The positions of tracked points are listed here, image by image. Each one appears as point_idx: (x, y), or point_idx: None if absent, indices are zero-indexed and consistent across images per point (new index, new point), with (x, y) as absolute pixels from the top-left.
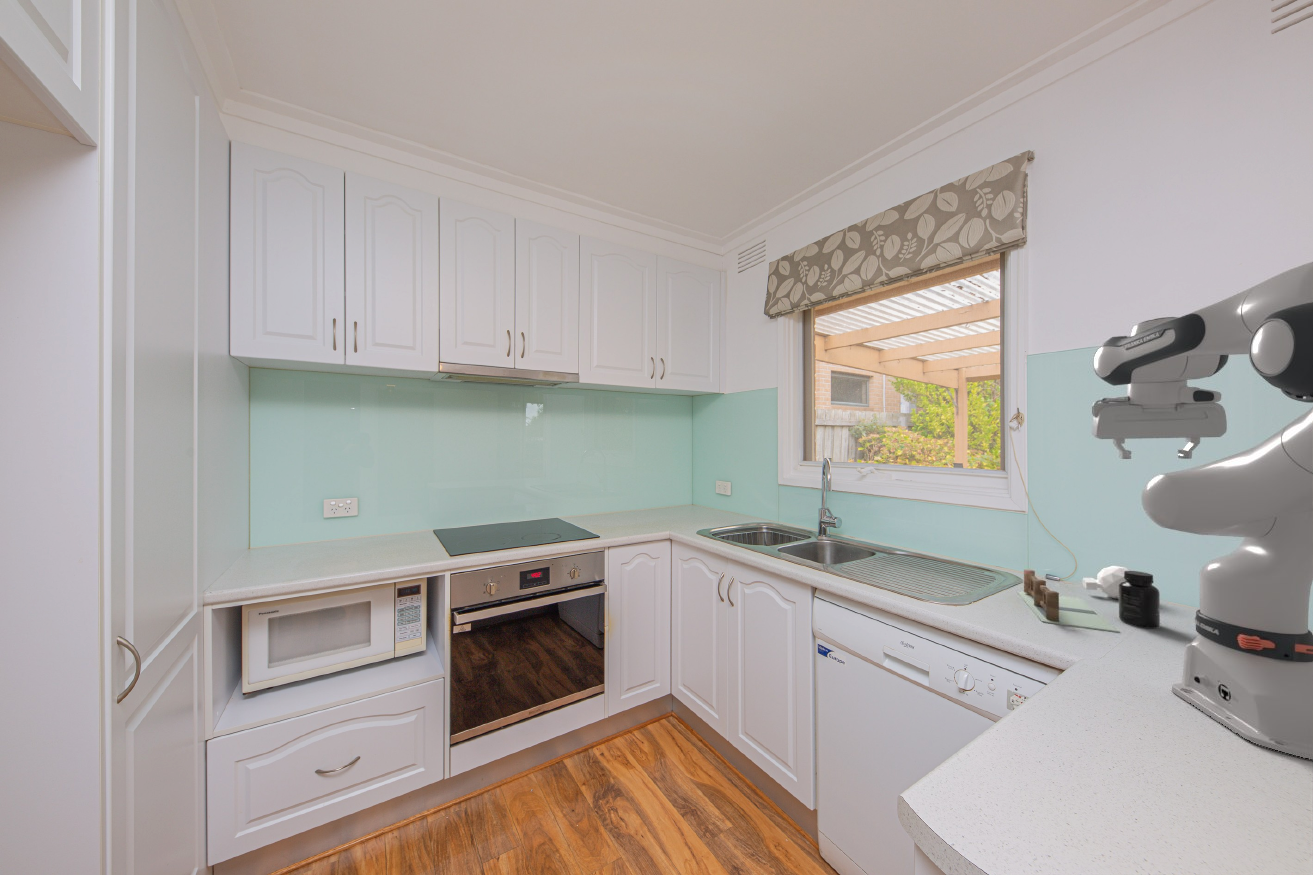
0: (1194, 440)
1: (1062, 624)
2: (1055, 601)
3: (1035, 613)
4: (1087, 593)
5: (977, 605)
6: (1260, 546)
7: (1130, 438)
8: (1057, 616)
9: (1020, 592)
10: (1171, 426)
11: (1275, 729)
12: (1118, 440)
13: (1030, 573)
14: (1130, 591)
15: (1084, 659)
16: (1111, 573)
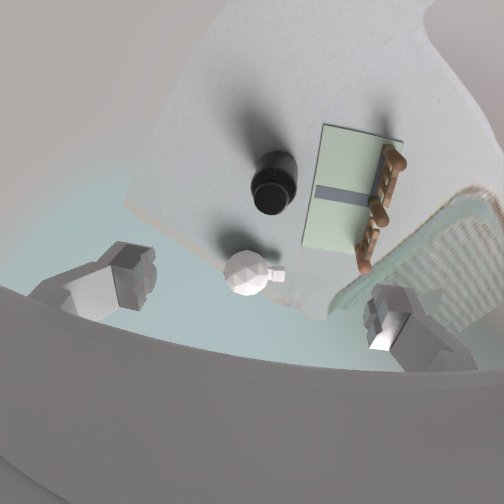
0: (51, 297)
1: (382, 137)
2: (395, 152)
3: None
4: None
5: (447, 192)
6: None
7: (437, 373)
8: (387, 146)
9: None
10: (109, 437)
11: None
12: (470, 369)
13: (366, 261)
14: (291, 175)
15: (410, 31)
16: (257, 274)
